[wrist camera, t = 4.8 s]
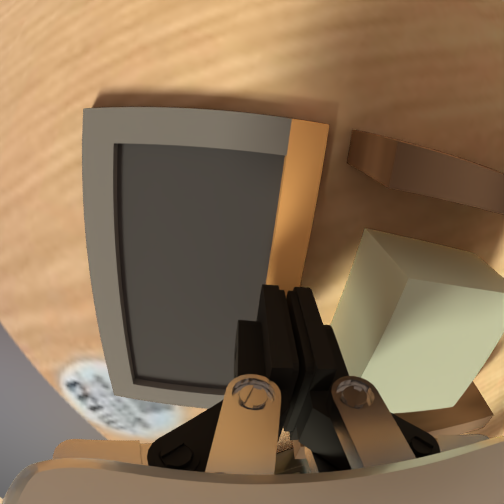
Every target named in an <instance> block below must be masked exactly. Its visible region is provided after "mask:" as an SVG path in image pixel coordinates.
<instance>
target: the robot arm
mask: <svg viewBox="0 0 504 504" xmlns="http://www.w3.org/2000/svg"><path fill="white" fill-rule="evenodd" d="M283 428H284V431H289V432H290V440H298V442H300V443H301V444H303V445H304V446H305V455H306V458H307V461H308V464H309V467H310V470H311V473H307V474H283V475H274V471H275V461H276V451H277V442H278V440H279V437H280V434H281V431H282V429H283ZM2 504H504V436H500V437H495V438H491V439H489V438H488V437H486V436H484V435H480V434H475V435H437V436H436V437H435V438H434V437H433V436H432V435H430V434H429V433H428V432H426V431H424V430H422V429H420V428H418V427H416V426H415V425H413V424H411V423H409V422H407V421H405V420H404V419H402V418H400V417H398V416H396V415H395V414H393V413H391V412H390V411H389V409H388V408H387V406H386V404H385V402H384V401H383V399H382V397H381V396H380V394H379V392H378V390H377V389H376V388H375V386H374V385H373V384H372V383H370V382H369V381H368V380H365V379H363V378H361V377H356V376H349V374H348V371H347V368H346V365H345V362H344V359H343V356H342V353H341V351H340V348H339V345H338V342H337V339H336V336H335V334H334V331H333V328H332V327H331V326H330V325H323V323H322V320H321V317H320V314H319V311H318V308H317V305H316V302H315V299H314V296H313V293H312V290H311V288H305V287H294V289H293V291H290V290H289V291H288V292H287V297H286V296H285V291H284V290H279V286H278V285H267V284H262V287H261V293H260V300H259V306H258V313H257V320H256V321H249V320H238V322H237V330H236V339H235V352H234V379H233V380H232V381H231V382H230V383H229V384H228V386H227V388H226V392H225V396H224V399H223V400H222V401H220V402H219V403H217V404H215V405H214V406H212V407H211V408H209V409H207V410H206V411H204V412H203V413H201V414H199V415H198V416H196V417H194V418H193V419H191V420H189V421H188V422H186V423H184V424H183V425H181V426H179V427H178V428H176V429H174V430H172V431H171V432H169V433H167V434H165V435H164V436H162V437H160V438H158V439H157V440H156V441H155V442H153V443H145V444H140V442H139V441H111V440H84V439H70V440H66V441H64V442H62V443H60V444H59V445H58V446H57V447H56V448H55V451H54V454H53V459H51V460H46V461H41V462H37V463H35V464H31V465H29V466H28V467H26V468H25V469H24V470H22V471H21V472H20V473H19V474H18V475H17V477H16V478H15V479H14V481H13V482H12V484H11V486H10V487H9V489H8V491H7V493H6V495H5V497H4V499H3V501H2Z"/></svg>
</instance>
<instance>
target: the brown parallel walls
mask: <svg viewBox="0 0 504 504" xmlns="http://www.w3.org/2000/svg"><path fill="white" fill-rule="evenodd" d="M347 163H348V164H350V165H352V166H353V167H355V168H357V169H358V170H360V171H362V172H363V173H365V174H367V175H368V176H370V177H372V178H373V179H375V180H376V181H378V182H380V183H381V184H383V185H384V186H386V187H387V188H390V189H395V190H400V191H405V192H410V193H415V194H420V195H425V196H429V197H434V198H438V199H443V200H447V201H451V202H456V203H460V204H464V205H468V206H472V207H476V208H480V209H484V210H488V211H491V212H495V213H499V214H502V215H504V173H501V172H498V171H496V170H493V169H490V168H488V167H485V166H482V165H479V164H477V163H474V162H471V161H468V160H465V159H462V158H459V157H456V156H453V155H450V154H447V153H443V152H440V151H437V150H433V149H430V148H427V147H423V146H420V145H416V144H412V143H409V142H405V141H401V140H397V139H393V138H389V137H385V136H381V135H377V134H372V133H368V132H363V131H359V130H354V129H353V130H352V137H351V143H350V149H349V154H348V160H347ZM393 414H395V415H396V416H398V417H400V418H402V419H404V420H405V421H407V422H409V423H411V424H413V425H415V426H416V427H418V428H420V429H422V430H424V431H426V432H428V433H429V434H430V435H432V436H433V437H434V438H435V437H436V436H437V435H460V434H463V433H467V432H470V431H474V430H477V429H480V428H483V427H484V426H485V425H486V424H487V422H488V421H489V420H490V419H491V418H492V416H493V413H492V412H491V410H490V408H489V406H488V405H487V403H486V402H485V400H484V398H483V397H482V395H481V393H480V392H479V390H478V389H477V387H476V385H475V384H474V382H473V381H472V382H471V384H470V385H469V386H468V388H467V389H466V391H465V392H464V393H463V395H462V396H461V397H460V399H459V400H458V401H457V402H456V404H455V405H454V406H453V407H449V408H441V409H434V410H425V411H416V412H405V413H393ZM292 442H293V449H294V457H295V459H307V458H306V455H305V446H304V445H303V444H301V443H300V442H298V440H292Z"/></svg>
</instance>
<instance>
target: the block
mask: <svg viewBox="0 0 504 504" xmlns="http://www.w3.org/2000/svg"><path fill="white" fill-rule="evenodd" d="M330 326H331V327H332V328H333V331H334V334H335V336H336V339H337V342H338V345H339V348H340V351H341V353H342V356H343V359H344V362H345V365H346V368H347V371H348V374H349V376H356V377H361V378H363V379H365V380H368V381H369V382H370V383H372V384H373V385H374V386H375V388H376V389H377V390H378V392H379V394H380V396H381V397H382V399H383V401H384V402H385V404H386V406H387V408H388V409H389V411H390V412H391V413H405V412H416V411H425V410H434V409H441V408H449V407H453V406H454V405H455V404H456V402H457V401H458V400H459V399H460V397H461V396H462V395H463V393H464V392H465V391H466V389H467V388H468V386H469V385H470V384H471V382H472V381H473V380H474V378H475V377H476V375H477V374H478V372H479V371H480V369H481V368H482V367H483V365H484V364H485V362H486V360H487V359H488V357H489V356H490V354H491V353H492V351H493V350H494V348H495V346H496V345H497V343H498V341H499V340H500V338H501V336H502V335H503V333H504V278H503V277H502V276H501V275H499V274H498V273H497V272H496V271H495V270H494V269H492V268H491V267H490V266H489V265H488V264H487V263H485V262H484V261H483V260H482V259H481V258H479V257H478V256H477V255H476V254H474V253H472V252H468V251H464V250H460V249H456V248H452V247H448V246H444V245H439V244H435V243H431V242H426V241H422V240H418V239H413V238H409V237H404V236H400V235H395V234H391V233H386V232H382V231H377V230H372V229H367V228H365V229H364V232H363V235H362V238H361V241H360V244H359V247H358V250H357V253H356V256H355V259H354V262H353V265H352V268H351V271H350V274H349V276H348V279H347V282H346V285H345V288H344V290H343V293H342V296H341V298H340V301H339V304H338V306H337V309H336V312H335V314H334V317H333V320H332V322H331V325H330Z"/></svg>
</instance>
